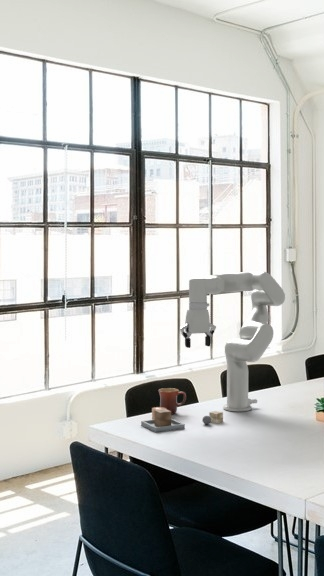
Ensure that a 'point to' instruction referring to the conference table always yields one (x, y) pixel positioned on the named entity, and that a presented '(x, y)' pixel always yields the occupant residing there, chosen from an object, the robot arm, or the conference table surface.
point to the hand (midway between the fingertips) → (197, 346)
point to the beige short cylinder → (154, 411)
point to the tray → (174, 426)
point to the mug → (170, 399)
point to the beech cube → (216, 416)
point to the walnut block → (162, 417)
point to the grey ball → (206, 420)
